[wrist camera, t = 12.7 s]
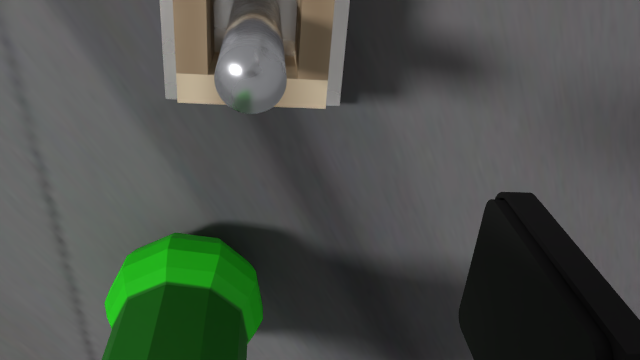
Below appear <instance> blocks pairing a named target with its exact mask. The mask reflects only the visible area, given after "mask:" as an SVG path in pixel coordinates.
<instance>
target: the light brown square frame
mask: <svg viewBox="0 0 640 360" xmlns="http://www.w3.org/2000/svg"><path fill="white" fill-rule="evenodd" d="M334 4H335V0H297V17H296V35H295V53H294V56H285V66H286V76H287V84H286V89H285V92H284V94H283V96H282V98H281V99H280V101H279V102H278V103H277V104H276V105H275V106H274V107H296V108H320V109H325V108H326V97H327V85H328V73H329V62H330V50H331V39H332V27H333V16H334ZM173 19H174V39H175V60H176V80H177V100H178V103H199V104H223V105H227V104H225V103H224V101H223V100H222V99H221V98H220V96H219V94H218V93H217V90H216V87H215V82H214V74H215V69H216V65H217V61H218V58H219V54H220V52H214V0H173Z"/></svg>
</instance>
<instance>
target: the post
mask: <svg viewBox="0 0 640 360" xmlns="http://www.w3.org/2000/svg"><path fill="white" fill-rule="evenodd" d="M349 4H350V0H335V4H334V16H333V27H332V39H331V50H330V62H329V73H328V85H327V97H326V105H328V106H340V96H341V86H342V76H343V65H344V55H345V45H346V35H347V25H348V15H349ZM160 14H161V30H162V46H163V63H164V79H165V96H166V99H177V80H176V60H175V39H174V19H173V0H160ZM296 17H297V0H214V52H220V54H219V58H218V61H217V65H216V69H215V74H214V82H215V87H216V90H217V93H218V94H219V96H220V98H221V99H222V100H223V101H224V103H225V104H227V105H228V106H229V107H231V108H232V109H234V110H236V111H239V112H242V113H247V114H256V113H261V112H265V111H267V110H269V109H271V108H272V107H274V106H275V105H276V104H277V103H278V102H279V101H280V99H281V98H282V96H283V94H284V92H285V89H286V84H287V76H286V66H285V56H294V53H295V35H296Z"/></svg>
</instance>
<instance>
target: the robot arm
mask: <svg viewBox="0 0 640 360" xmlns="http://www.w3.org/2000/svg"><path fill="white" fill-rule="evenodd" d="M459 323H460V327H461V330H462V333H463V335H464V337H465V340H466V342H467V344H468V347H469V349H470V351H471V354H472V356H473V358H474V360H640V320H639V319H638V318H637V316H636V315H635V314H634V313H633V312H632V310H631V309H630V308H629V307H628V306H627V304H626V303H625V302H624V301H623V300H622V299H621V297H620V296H619V295H618V294H617V293H616V291H615V290H614V289H613V288H612V287H611V285H610V284H609V283H608V282H607V281H606V280H605V278H604V277H603V276H602V275H601V274H600V272H599V271H598V270H597V269H596V268H595V266H594V265H593V264H592V263H591V262H590V260H589V259H588V258H587V257H586V256H585V255H584V253H583V252H582V251H581V250H580V249H579V247H578V246H577V245H576V244H575V243H574V241H573V240H572V239H571V238H570V237H569V235H568V234H567V233H566V232H565V231H564V230H563V228H562V227H561V226H560V225H559V224H558V222H557V221H556V220H555V219H554V218H553V216H552V215H551V214H550V213H549V212H548V210H547V209H546V208H545V207H544V206H543V205H542V203H541V202H540V201H539V200H538V199H537V197H536V196H535V195H534V194H532V193H521V192H500V193H499V194H498V195H497V196H496V198H495V200H494V199H491V200H489V201H488V202H487V204H486V207H485V210H484V214H483V218H482V222H481V226H480V230H479V234H478V238H477V242H476V246H475V250H474V254H473V257H472V261H471V265H470V269H469V273H468V277H467V281H466V285H465V289H464V293H463V297H462V301H461V305H460V309H459Z"/></svg>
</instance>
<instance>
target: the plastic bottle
mask: <svg viewBox="0 0 640 360" xmlns="http://www.w3.org/2000/svg"><path fill="white" fill-rule="evenodd" d="M105 308H106V314H107V318H108V320H109V323H110V326H111V328H112V331H111V334H110V337H109V340H108V343H107V346H106V349H105V352H104V355H103V358H102V360H246V357H247V344H248V343H249V341H250V340H251V338H252V337H253V335H254V334H255V332H256V331H257V329H258V327H259V325H260V324H261V322H262V320H263V305H262V300H261V295H260V290H259V285H258V280H257V275H256V271H255V269H254V268H253V266H252V265H251V264H250V263H249V262H248V261H247V260H246V259H244V258H243V257H242V256H241V255H239V254H238V253H237V252H236V251H234V250H233V249H232V248H231V247H229V246H228V245H227V244H226V243H224V242H223V241H222V240H221V239H219V238H212V237H204V236H196V235H189V234H181V233H173V234H171V235H169V236H166V237H164V238H162V239H159V240H157V241H155V242H152V243H150V244H148V245H145V246H143V247H140V248H138V249H136V250H135V251H133V252H132V253H131V254H129V255H128V256H127V257H126V259H125V261H124V263H123V265H122V267H121V269H120V271H119V273H118V275H117V277H116V279H115V281H114V282H113V284H112V286H111V288H110V290H109V293H108V295H107V298H106V301H105Z"/></svg>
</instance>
